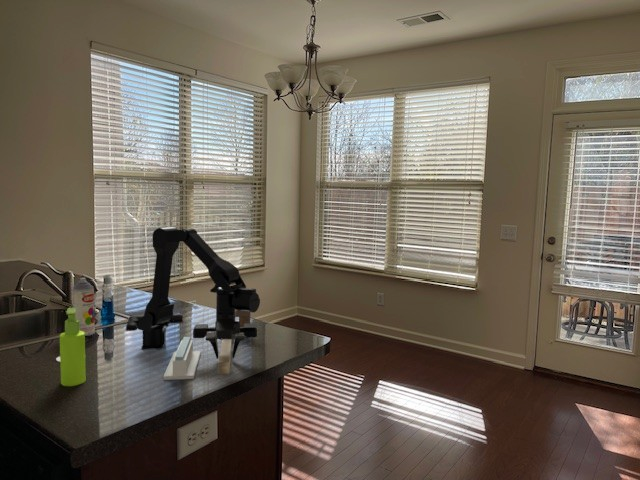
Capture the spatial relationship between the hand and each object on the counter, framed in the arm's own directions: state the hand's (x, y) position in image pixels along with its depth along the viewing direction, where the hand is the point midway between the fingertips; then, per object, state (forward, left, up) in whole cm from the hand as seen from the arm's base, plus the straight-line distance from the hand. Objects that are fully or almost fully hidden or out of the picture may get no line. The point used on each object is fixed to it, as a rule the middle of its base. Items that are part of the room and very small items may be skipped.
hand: (225, 358), depth 145 cm
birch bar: (0, 0, -1) cm, 1 cm away
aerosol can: (-50, +30, -1) cm, 58 cm away
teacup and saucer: (-45, +9, -2) cm, 46 cm away
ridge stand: (-12, -3, -1) cm, 12 cm away
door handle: (-28, +40, -2) cm, 49 cm away
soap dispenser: (-39, -13, -1) cm, 41 cm away
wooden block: (+2, +26, -1) cm, 26 cm away
